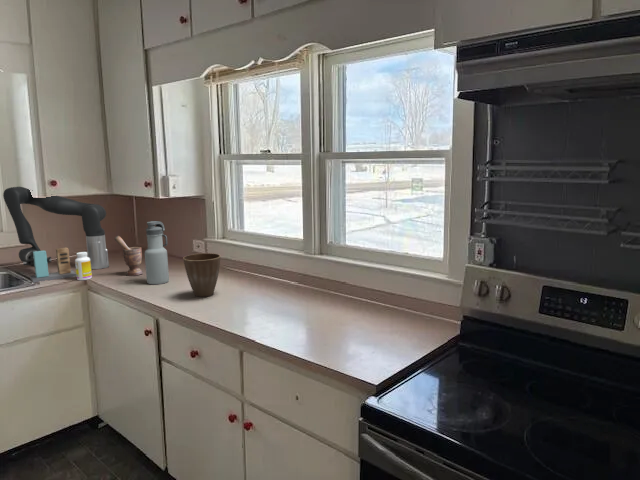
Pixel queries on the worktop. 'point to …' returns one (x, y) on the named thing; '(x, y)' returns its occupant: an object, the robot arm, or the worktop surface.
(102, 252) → the robot arm
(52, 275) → the key base
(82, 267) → the supplement bottle
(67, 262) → the tan tall block
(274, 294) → the worktop surface
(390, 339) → the worktop surface
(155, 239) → the water bottle
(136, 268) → the mortar and pestle
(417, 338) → the worktop surface
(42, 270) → the teal rectangular block
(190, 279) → the plant pot
